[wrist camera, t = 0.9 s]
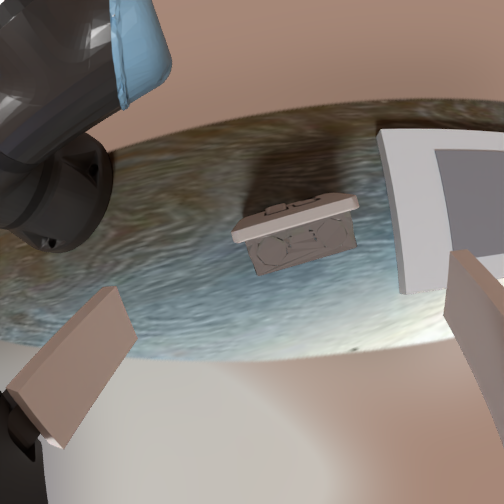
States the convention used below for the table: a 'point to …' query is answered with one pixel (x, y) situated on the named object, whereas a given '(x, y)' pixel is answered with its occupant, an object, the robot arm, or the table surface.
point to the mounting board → (443, 201)
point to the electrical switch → (298, 231)
